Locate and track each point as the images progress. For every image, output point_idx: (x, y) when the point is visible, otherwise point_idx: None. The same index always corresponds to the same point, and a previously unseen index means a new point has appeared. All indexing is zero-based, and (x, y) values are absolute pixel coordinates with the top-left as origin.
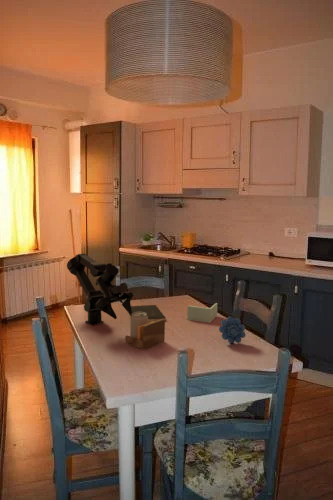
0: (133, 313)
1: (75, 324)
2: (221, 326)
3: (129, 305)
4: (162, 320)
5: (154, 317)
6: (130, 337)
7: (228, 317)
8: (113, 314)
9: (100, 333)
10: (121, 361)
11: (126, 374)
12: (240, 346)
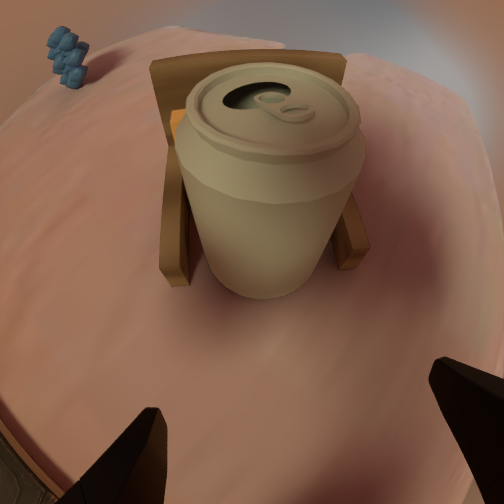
0: (322, 141)
1: None
2: (76, 49)
3: (95, 497)
4: (176, 58)
5: None
6: (353, 210)
7: (62, 27)
8: (485, 380)
9: (383, 493)
10: (429, 149)
11: (429, 108)
12: (87, 75)
